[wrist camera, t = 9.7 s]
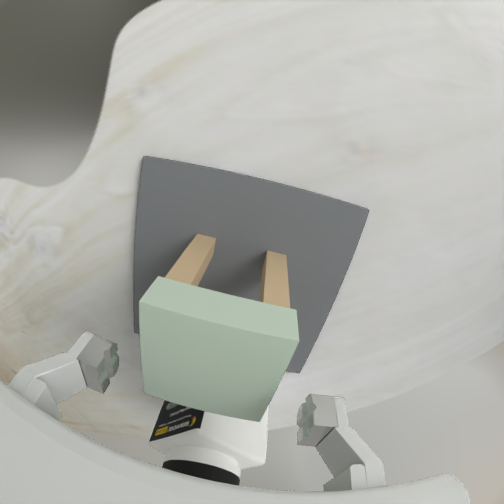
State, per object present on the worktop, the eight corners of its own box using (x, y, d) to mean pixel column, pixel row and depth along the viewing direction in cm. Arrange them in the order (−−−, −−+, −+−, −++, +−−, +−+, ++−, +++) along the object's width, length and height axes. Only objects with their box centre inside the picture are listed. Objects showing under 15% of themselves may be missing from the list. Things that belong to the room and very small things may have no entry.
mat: (367, 208, 16) (369, 210, 15) (299, 369, 21) (299, 373, 21) (146, 156, 16) (143, 156, 15) (136, 329, 21) (134, 332, 21)
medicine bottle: (215, 361, 22) (182, 492, 11) (270, 400, 23) (263, 516, 12) (168, 387, 24) (130, 490, 13) (220, 421, 26) (201, 517, 15)
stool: (290, 252, 17) (299, 341, 10) (266, 327, 19) (259, 422, 12) (194, 230, 17) (139, 301, 9) (184, 307, 19) (143, 393, 12)
